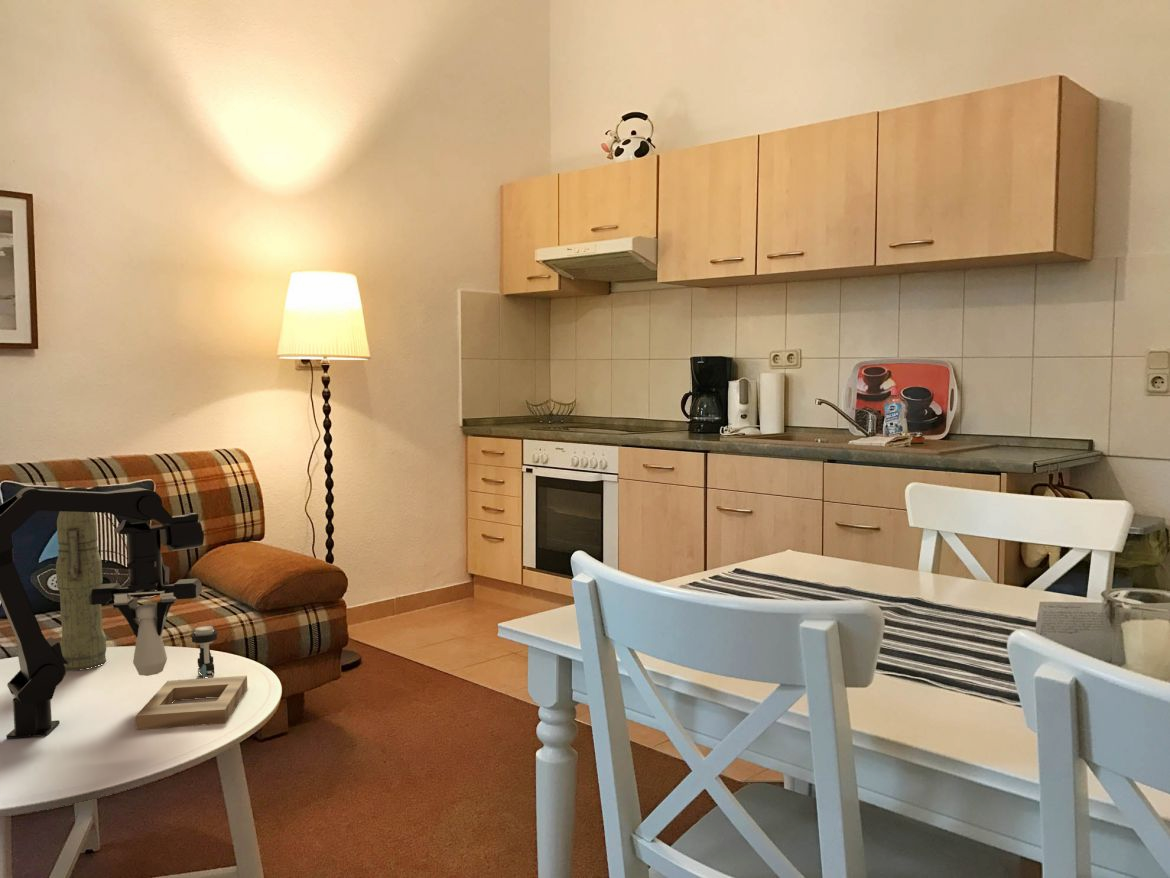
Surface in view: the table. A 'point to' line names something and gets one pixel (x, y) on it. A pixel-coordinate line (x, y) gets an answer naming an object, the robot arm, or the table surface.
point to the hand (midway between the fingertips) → (149, 636)
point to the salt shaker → (148, 642)
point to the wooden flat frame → (188, 714)
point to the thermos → (79, 590)
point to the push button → (205, 649)
